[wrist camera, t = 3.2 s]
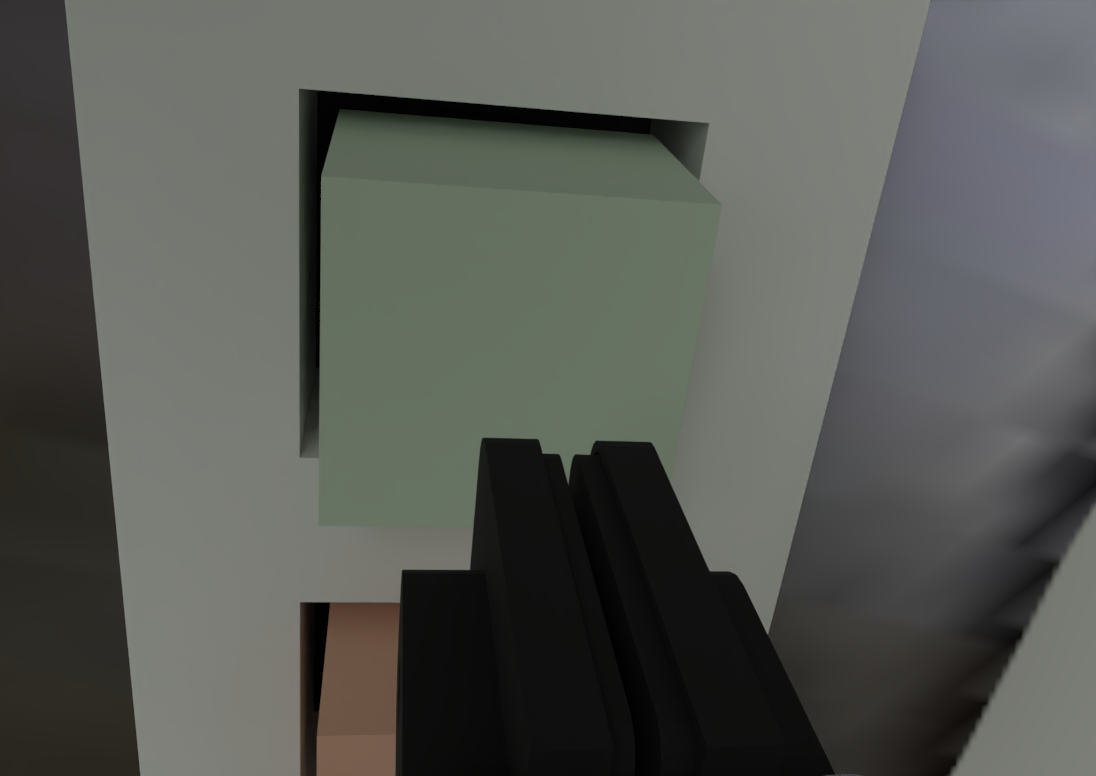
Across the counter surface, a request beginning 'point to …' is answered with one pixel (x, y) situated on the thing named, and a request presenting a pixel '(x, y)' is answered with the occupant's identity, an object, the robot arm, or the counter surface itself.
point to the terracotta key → (359, 691)
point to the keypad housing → (290, 295)
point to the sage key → (497, 304)
